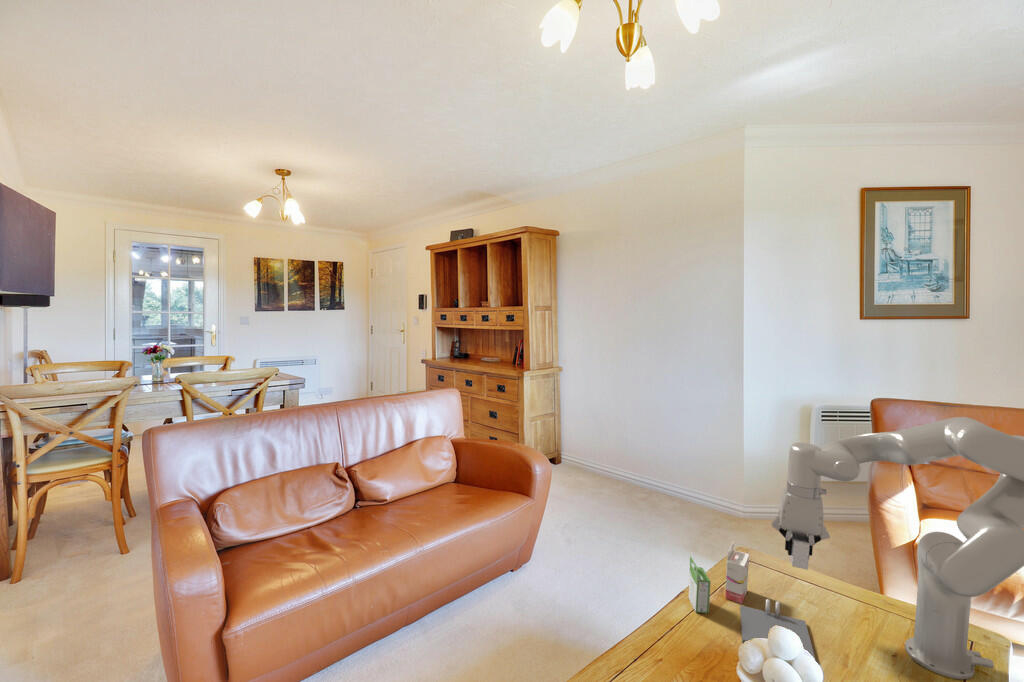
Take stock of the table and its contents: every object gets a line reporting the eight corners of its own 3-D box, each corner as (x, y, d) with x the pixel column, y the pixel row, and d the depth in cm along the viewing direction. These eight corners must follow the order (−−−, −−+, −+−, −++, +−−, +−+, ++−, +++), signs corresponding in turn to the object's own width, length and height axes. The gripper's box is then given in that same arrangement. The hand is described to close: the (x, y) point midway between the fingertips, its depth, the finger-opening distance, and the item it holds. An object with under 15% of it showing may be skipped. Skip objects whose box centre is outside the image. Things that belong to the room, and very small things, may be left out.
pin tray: (804, 624, 128) (805, 606, 127) (815, 662, 114) (816, 643, 114) (740, 608, 134) (740, 592, 134) (742, 643, 120) (743, 624, 120)
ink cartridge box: (743, 605, 136) (745, 556, 135) (724, 598, 139) (726, 551, 138) (748, 590, 143) (750, 544, 142) (730, 584, 146) (732, 539, 145)
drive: (803, 551, 131) (805, 527, 130) (807, 569, 122) (809, 544, 121) (788, 548, 132) (790, 524, 131) (792, 566, 123) (793, 540, 123)
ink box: (709, 614, 132) (711, 568, 131) (695, 613, 132) (696, 568, 131) (701, 598, 139) (703, 555, 138) (688, 597, 139) (689, 555, 138)
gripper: (837, 490, 125) (831, 556, 126) (767, 479, 132) (763, 541, 134) (842, 501, 118) (837, 570, 120) (768, 488, 125) (764, 553, 127)
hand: (798, 554), depth 127 cm, fingers closed on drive, 3 cm apart
